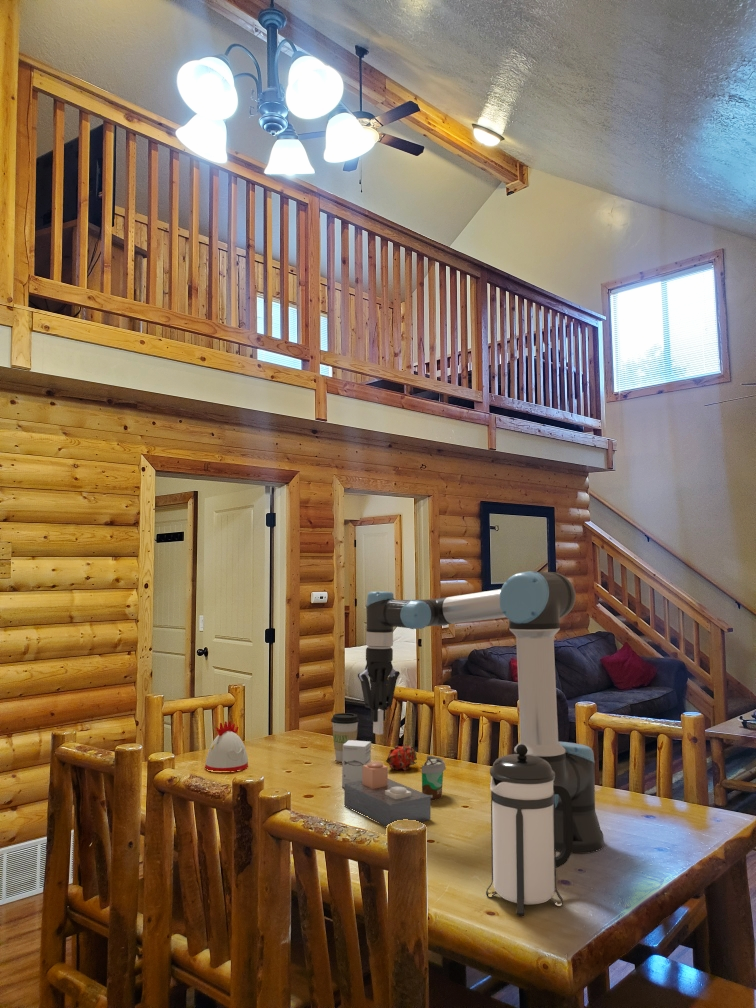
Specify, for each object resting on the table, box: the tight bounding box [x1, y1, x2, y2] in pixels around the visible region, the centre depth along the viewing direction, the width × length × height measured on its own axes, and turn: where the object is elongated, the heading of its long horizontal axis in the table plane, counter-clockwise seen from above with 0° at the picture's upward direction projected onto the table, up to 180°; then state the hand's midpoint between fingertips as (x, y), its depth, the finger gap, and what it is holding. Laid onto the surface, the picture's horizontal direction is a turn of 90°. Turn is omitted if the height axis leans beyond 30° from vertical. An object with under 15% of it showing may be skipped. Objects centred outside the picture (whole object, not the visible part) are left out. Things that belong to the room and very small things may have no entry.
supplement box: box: [341, 740, 372, 788], centre depth 220 cm, size 7×7×13 cm
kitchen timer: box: [204, 720, 249, 771], centre depth 240 cm, size 14×14×15 cm
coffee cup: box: [330, 712, 360, 763], centre depth 251 cm, size 10×10×15 cm
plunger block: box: [343, 778, 432, 828], centre depth 195 cm, size 22×13×6 cm, turn 34°
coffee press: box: [485, 744, 573, 917], centre depth 145 cm, size 17×16×30 cm
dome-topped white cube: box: [385, 787, 411, 799], centre depth 190 cm, size 5×5×7 cm
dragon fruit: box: [385, 743, 417, 772], centre depth 238 cm, size 8×8×12 cm
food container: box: [421, 755, 446, 802], centre depth 209 cm, size 12×6×10 cm, turn 168°
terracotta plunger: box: [362, 761, 389, 789], centre depth 200 cm, size 5×5×7 cm
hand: (378, 733), depth 199 cm, fingers closed
